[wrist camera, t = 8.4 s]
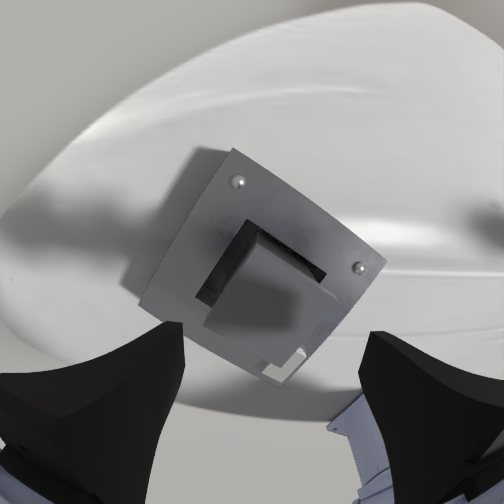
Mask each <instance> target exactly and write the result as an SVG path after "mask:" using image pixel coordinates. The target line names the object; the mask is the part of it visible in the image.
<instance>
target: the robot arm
mask: <svg viewBox="0 0 504 504" xmlns="http://www.w3.org/2000/svg"><path fill="white" fill-rule="evenodd" d="M184 369H185V356H184V340H183V323H182V322H173V321H166V322H164V323H162V324H160V325H158V326H157V327H155V328H153V329H152V330H150V331H148V332H147V333H145V334H143V335H141V336H140V337H138V338H136V339H135V340H133V341H131V342H129V343H127V344H125V345H123V346H121V347H119V348H117V349H115V350H114V351H111V352H109V353H107V354H105V355H102V356H100V357H97V358H94V359H92V360H89V361H86V362H83V363H79V364H75V365H72V366H68V367H64V368H60V369H54V370H49V371H42V372H31V373H0V437H1V439H2V440H3V441H4V443H5V444H6V446H5V447H4V448H3V450H1V449H0V504H145V499H146V494H147V488H148V483H149V477H150V473H151V468H152V464H153V459H154V456H155V452H156V448H157V444H158V440H159V437H160V434H161V431H162V429H163V426H164V424H165V421H166V419H167V416H168V414H169V412H170V409H171V407H172V405H173V402H174V400H175V398H176V395H177V393H178V390H179V388H180V384H181V381H182V377H183V373H184ZM358 374H359V379H360V383H361V386H362V390H363V394H362V395H361V396H360V397H359V398H358V399H357V400H356V401H355V402H354V403H353V404H352V405H350V406H349V407H348V408H347V409H346V410H345V411H344V412H343V413H341V414H340V415H339V416H338V417H337V418H335V419H334V420H333V421H332V422H331V423H329V424H328V425H327V430H328V431H332V432H334V433H337V434H341V435H344V436H347V437H348V440H349V443H350V446H351V450H352V453H353V456H354V459H355V463H356V466H357V470H358V473H359V476H360V479H361V483H362V488H360V489H358V490H357V491H358V495H359V498H358V499H356V500H354V501H353V503H352V504H504V380H499V379H493V378H488V377H484V376H480V375H476V374H473V373H470V372H467V371H464V370H461V369H458V368H456V367H453V366H451V365H448V364H446V363H444V362H442V361H440V360H438V359H436V358H434V357H432V356H430V355H428V354H426V353H424V352H422V351H421V350H419V349H417V348H415V347H414V346H412V345H410V344H408V343H406V342H405V341H403V340H401V339H399V338H397V337H396V336H394V335H392V334H390V333H387V332H385V331H370V335H369V338H368V342H367V345H366V349H365V352H364V355H363V358H362V362H361V365H360V368H359V371H358Z"/></svg>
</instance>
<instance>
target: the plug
mask: <svg viewBox="0 0 504 504" xmlns="http://www.w3.org/2000/svg"><path fill="white" fill-rule="evenodd" d="M337 301H338V300H337V299H336V297H335V296H334V294H333V293H332V292H331V291H329V290H328V289H326V288H325V287H323V286H322V285H320V284H319V283H317V281H316V279H315V278H314V276H313V274H312V273H311V271H310V269H309V268H308V266H307V264H306V263H305V262H304V261H303V260H301V259H300V258H298V257H297V256H295V255H294V254H292V253H291V252H289V251H288V250H286V249H285V248H283V247H282V246H280V245H279V244H277V243H276V242H274V241H273V240H271V239H270V238H268V237H267V236H265V235H263V234H262V233H260V232H259V231H257V232H256V234H255V235H254V237H253V238H252V240H251V241H250V243H249V244H248V246H247V247H246V249H245V250H244V252H243V253H242V255H241V256H240V258H239V259H238V261H237V262H236V264H235V265H234V267H233V268H232V270H231V271H230V273H229V274H228V276H227V277H226V280H225V283H224V286H223V289H222V292H221V295H220V296H219V298H218V299H217V301H216V302H215V304H214V305H213V307H212V308H211V310H210V311H209V313H208V314H207V316H206V318H205V320H204V323H203V326H204V327H206V328H208V329H209V330H211V331H213V332H214V333H216V334H218V335H220V336H221V337H223V338H225V339H227V340H228V341H230V342H232V343H234V344H235V345H237V346H239V347H241V348H243V349H245V350H246V351H248V352H250V353H252V354H254V355H256V356H258V357H260V358H262V359H263V360H265V361H267V362H269V363H271V364H273V365H275V366H277V367H279V368H281V367H282V366H283V365H284V364H285V363H286V362H287V361H288V360H289V359H290V357H291V356H292V355H293V354H294V353H295V352H296V351H297V350H298V348H299V347H300V346H301V345H302V344H303V343H304V341H305V340H306V339H307V338H308V337H309V336H310V334H311V333H312V332H313V331H314V330H315V328H316V327H317V326H318V325H319V324H320V322H321V321H322V320H323V319H324V317H325V316H326V315H327V314H328V312H329V311H330V310H331V309H332V307H333V306H334V305H335V304H336V302H337Z"/></svg>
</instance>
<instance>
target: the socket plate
mask: <svg viewBox="0 0 504 504" xmlns="http://www.w3.org/2000/svg"><path fill="white" fill-rule="evenodd" d="M246 219H248V220H250V221H251V222H253V223H254V224H256V225H257V226H259V227H260V228H262V229H263V230H265V231H266V232H268V233H269V234H271V235H272V236H274V237H275V238H277V239H278V240H279V241H281V242H282V243H284V244H285V245H287V246H288V247H290V248H291V249H293V250H294V251H295V252H297V253H298V254H300V255H301V256H303V257H304V258H306V259H307V260H308V261H310V262H311V263H313V264H314V265H316V268H315V269H314V270H313V272H312V274H313V276H314V278H315V279H316V281H317V283H319V284H320V285H322V286H323V287H325V288H326V289H328V290H329V291H331V292H332V293H333V294H334V296H335V297H336V299H337V300H338V301H337V302H336V304H335V305H334V306H333V307H332V309H331V310H330V311H329V312H328V314H327V315H326V316H325V317H324V319H323V320H322V321H321V322H320V324H319V325H318V326H317V327H316V328H315V330H314V331H313V332H312V333H311V334H310V336H309V337H308V338H307V339H306V340H305V341H304V343H303V344H302V345H301V346H300V347H299V348H298V350H297V351H296V352H295V353H294V354H293V355H292V356H291V357H290V359H289V360H288V361H287V362H286V363H285V364H284V365H283V366H282V367H281V368H279V367H277V366H275V365H273V364H271V363H269V362H267V361H265V360H263V359H262V358H260V357H258V356H256V355H254V354H252V353H250V352H248V351H246V350H245V349H243V348H241V347H239V346H237V345H235V344H234V343H232V342H230V341H228V340H227V339H225V338H223V337H221V336H220V335H218V334H216V333H214V332H213V331H211V330H209V329H208V328H206V327H204V326H203V323H204V320H205V318H206V316H207V314H208V313H209V311H210V310H211V308H212V307H213V305H214V304H215V302H216V301H217V299H218V298H219V296H220V295H219V294H217V293H216V292H214V291H212V290H211V289H209V288H208V287H206V286H205V285H203V284H204V282H205V281H206V279H207V277H208V276H209V274H210V273H211V271H212V270H213V268H214V267H215V265H216V264H217V262H218V261H219V259H220V258H221V256H222V255H223V253H224V252H225V250H226V249H227V247H228V246H229V244H230V243H231V241H232V240H233V238H234V237H235V235H236V234H237V232H238V231H239V229H240V228H241V227H242V225H243V224H244V222H245V221H246ZM386 263H387V260H386V259H385V258H383V257H382V256H381V255H380V254H379V253H377V252H376V251H375V250H374V249H373V248H371V247H370V246H369V245H368V244H367V243H365V242H364V241H363V240H362V239H360V238H359V237H358V236H357V235H355V234H354V233H353V232H352V231H350V230H349V229H348V228H347V227H345V226H344V225H343V224H341V223H340V222H339V221H338V220H336V219H335V218H334V217H332V216H331V215H330V214H328V213H327V212H326V211H324V210H323V209H322V208H320V207H319V206H318V205H316V204H315V203H314V202H312V201H311V200H310V199H308V198H307V197H305V196H304V195H303V194H301V193H300V192H298V191H297V190H296V189H294V188H293V187H291V186H290V185H289V184H287V183H286V182H284V181H283V180H281V179H280V178H278V177H277V176H276V175H274V174H273V173H271V172H270V171H268V170H267V169H265V168H264V167H262V166H261V165H259V164H258V163H256V162H255V161H253V160H252V159H250V158H249V157H247V156H245V155H244V154H242V153H241V152H239V151H238V150H236V149H234V148H232V150H231V151H230V152H229V154H228V155H227V157H226V158H225V160H224V161H223V163H222V164H221V166H220V167H219V169H218V170H217V172H216V173H215V175H214V176H213V178H212V179H211V181H210V182H209V184H208V185H207V187H206V188H205V190H204V191H203V193H202V195H201V196H200V198H199V199H198V201H197V202H196V204H195V206H194V207H193V209H192V210H191V212H190V214H189V215H188V217H187V219H186V220H185V222H184V223H183V225H182V227H181V228H180V230H179V232H178V233H177V235H176V237H175V239H174V240H173V242H172V244H171V245H170V247H169V249H168V251H167V252H166V254H165V256H164V258H163V259H162V261H161V263H160V265H159V267H158V268H157V270H156V272H155V274H154V276H153V277H152V279H151V281H150V283H149V285H148V287H147V289H146V290H145V292H144V294H143V296H142V298H141V300H140V302H139V304H138V306H140V307H141V308H143V309H144V310H146V311H147V312H149V313H150V314H151V315H153V316H154V317H156V318H157V319H159V320H160V321H162V322H166V321H173V322H182V323H183V335H184V336H186V337H187V338H189V339H191V340H192V341H194V342H196V343H197V344H199V345H201V346H202V347H204V348H206V349H207V350H209V351H211V352H213V353H214V354H216V355H218V356H220V357H221V358H223V359H225V360H227V361H229V362H231V363H232V364H234V365H236V366H238V367H240V368H242V369H244V370H246V371H247V372H249V373H251V374H253V375H255V376H257V377H259V378H261V379H263V380H265V381H267V382H269V383H271V384H273V385H276V386H278V387H281V386H282V385H283V384H284V383H285V382H286V381H287V380H288V379H289V378H290V377H291V376H292V375H293V374H294V373H295V372H296V371H297V370H298V369H299V368H300V367H301V366H302V365H303V364H304V363H305V362H306V361H307V360H308V358H309V357H310V356H311V355H312V354H313V353H314V352H315V351H316V350H317V349H318V348H319V346H320V345H321V344H322V343H323V342H324V341H325V340H326V339H327V337H328V336H329V335H330V334H331V333H332V332H333V331H334V329H335V328H336V327H337V326H338V325H339V323H340V322H341V321H342V320H343V319H344V317H345V316H346V315H347V314H348V313H349V311H350V310H351V309H352V308H353V306H354V305H355V304H356V303H357V301H358V300H359V299H360V298H361V296H362V295H363V294H364V292H365V291H366V290H367V288H368V287H369V286H370V284H371V283H372V282H373V280H374V279H375V278H376V276H377V275H378V274H379V272H380V271H381V270H382V268H383V267H384V265H385V264H386Z"/></svg>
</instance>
